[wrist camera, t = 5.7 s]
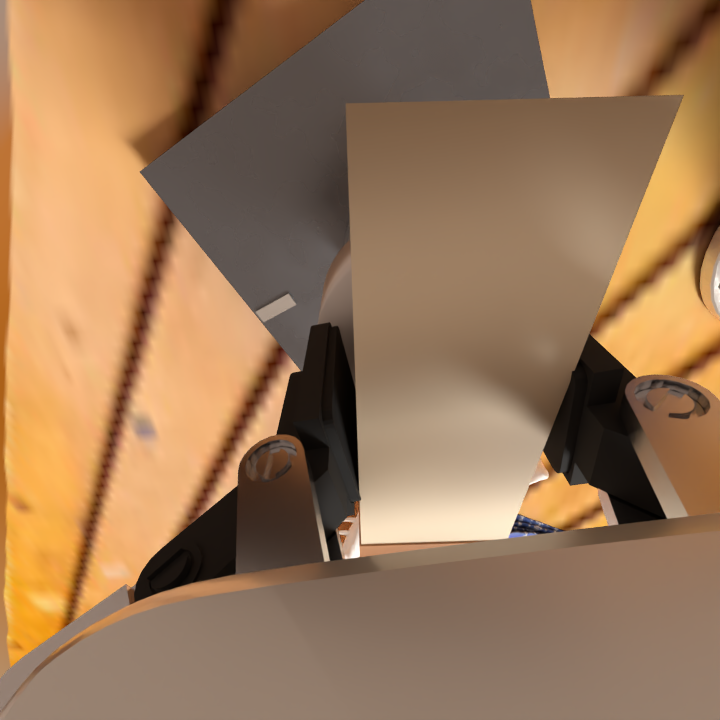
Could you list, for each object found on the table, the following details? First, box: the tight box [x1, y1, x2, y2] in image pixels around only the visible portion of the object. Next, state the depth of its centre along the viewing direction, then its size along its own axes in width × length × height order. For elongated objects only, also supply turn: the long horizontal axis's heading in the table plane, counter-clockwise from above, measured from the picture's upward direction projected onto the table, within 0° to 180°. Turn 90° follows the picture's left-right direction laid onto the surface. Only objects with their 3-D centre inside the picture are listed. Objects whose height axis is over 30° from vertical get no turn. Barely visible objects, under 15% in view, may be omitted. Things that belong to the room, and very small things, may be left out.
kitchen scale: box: [140, 0, 550, 371], centre depth 17 cm, size 18×18×8 cm
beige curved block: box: [318, 95, 684, 557], centre depth 11 cm, size 12×6×7 cm, turn 1°
